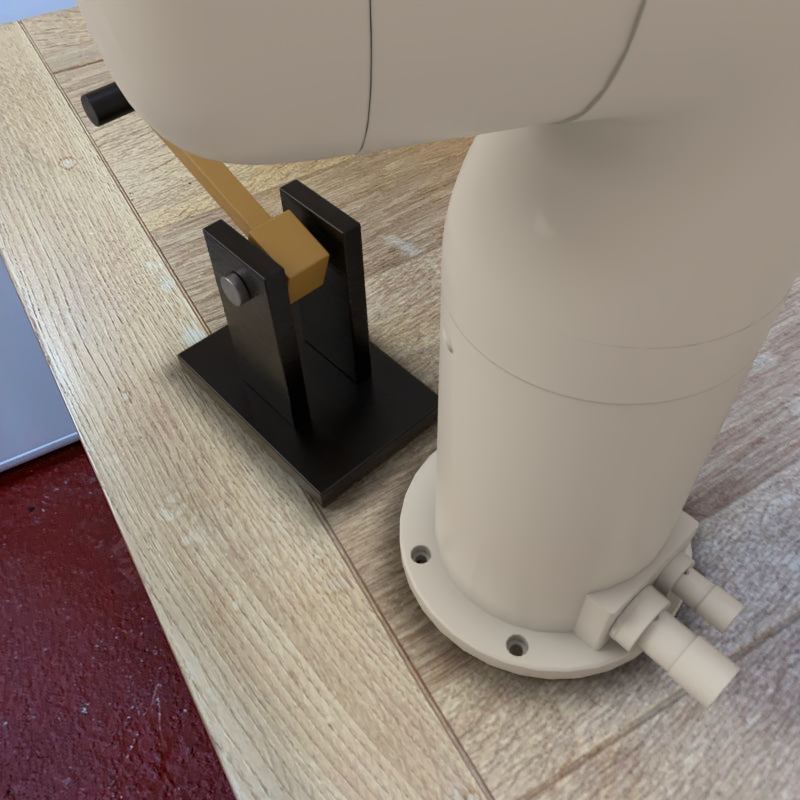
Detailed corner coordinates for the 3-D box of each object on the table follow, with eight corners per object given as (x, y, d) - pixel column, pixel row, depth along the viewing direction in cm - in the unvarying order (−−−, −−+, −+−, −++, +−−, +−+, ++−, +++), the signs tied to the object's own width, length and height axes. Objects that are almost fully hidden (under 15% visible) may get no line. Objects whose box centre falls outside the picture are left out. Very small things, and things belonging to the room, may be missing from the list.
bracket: (181, 369, 42) (122, 203, 34) (298, 297, 46) (271, 130, 37) (323, 509, 37) (294, 351, 28) (445, 415, 40) (451, 249, 32)
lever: (84, 120, 37) (75, 80, 34) (176, 80, 39) (174, 40, 37) (258, 324, 34) (261, 295, 32) (347, 270, 36) (355, 238, 34)
